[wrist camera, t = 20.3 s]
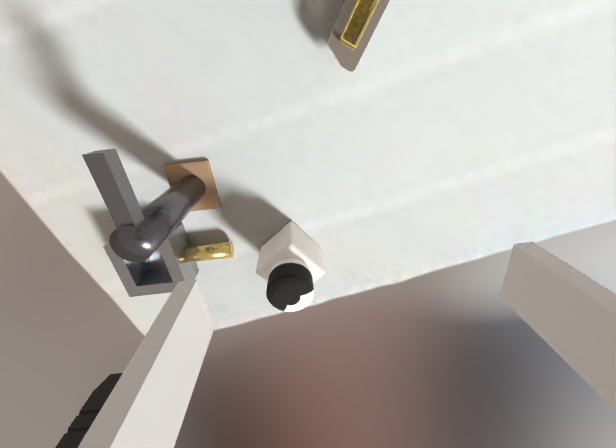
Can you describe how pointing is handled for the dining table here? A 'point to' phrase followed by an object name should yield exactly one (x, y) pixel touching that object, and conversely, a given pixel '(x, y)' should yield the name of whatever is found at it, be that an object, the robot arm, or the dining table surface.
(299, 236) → the medicine bottle
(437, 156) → the dining table surface
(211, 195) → the copper plate
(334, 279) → the dining table surface
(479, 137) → the dining table surface
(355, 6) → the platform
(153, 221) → the chuck key
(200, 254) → the block
